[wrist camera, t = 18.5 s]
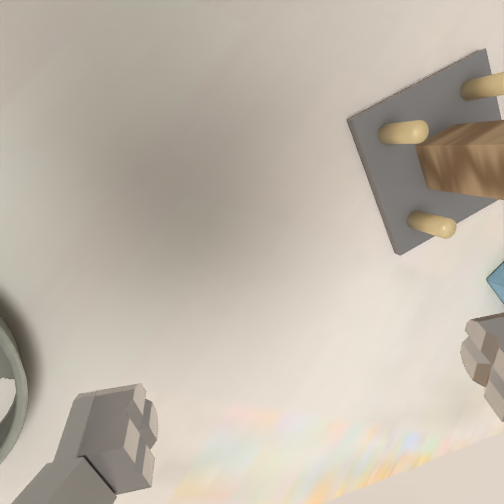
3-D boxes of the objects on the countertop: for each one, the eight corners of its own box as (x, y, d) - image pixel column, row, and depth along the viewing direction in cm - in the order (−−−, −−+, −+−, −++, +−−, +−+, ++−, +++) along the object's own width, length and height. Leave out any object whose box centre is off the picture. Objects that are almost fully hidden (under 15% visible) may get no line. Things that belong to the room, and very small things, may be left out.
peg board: (346, 119, 38) (379, 114, 32) (478, 50, 39) (531, 33, 33) (395, 253, 43) (430, 268, 37) (509, 188, 44) (559, 193, 39)
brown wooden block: (414, 146, 39) (543, 143, 26) (454, 124, 39) (601, 111, 26) (427, 189, 41) (555, 207, 27) (465, 167, 41) (609, 175, 28)
